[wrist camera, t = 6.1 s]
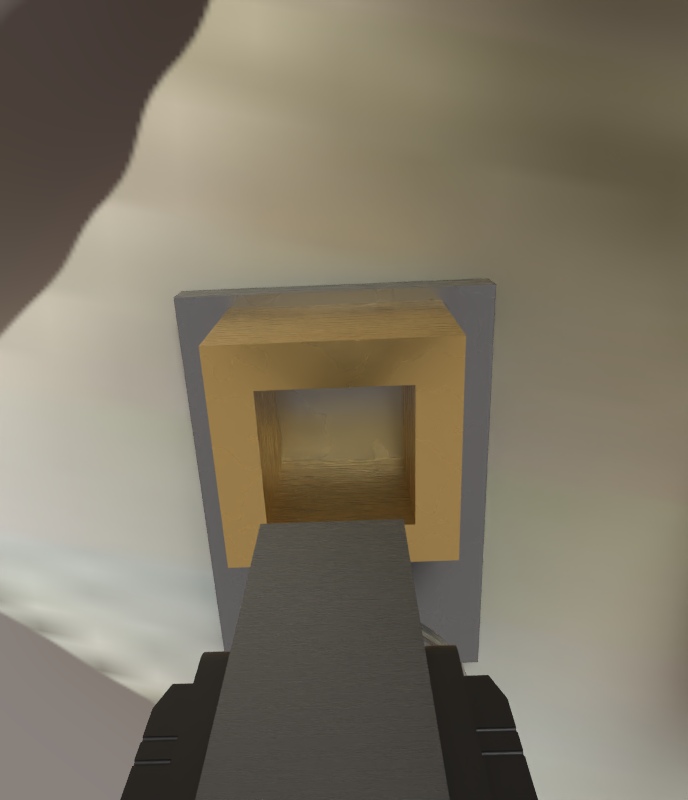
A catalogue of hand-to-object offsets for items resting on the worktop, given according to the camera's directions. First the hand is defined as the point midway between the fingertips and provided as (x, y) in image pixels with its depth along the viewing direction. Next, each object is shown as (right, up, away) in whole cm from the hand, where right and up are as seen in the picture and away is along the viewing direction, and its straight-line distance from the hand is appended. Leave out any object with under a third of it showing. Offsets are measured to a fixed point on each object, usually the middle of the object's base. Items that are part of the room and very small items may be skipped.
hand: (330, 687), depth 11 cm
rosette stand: (0, +1, +16) cm, 16 cm away
